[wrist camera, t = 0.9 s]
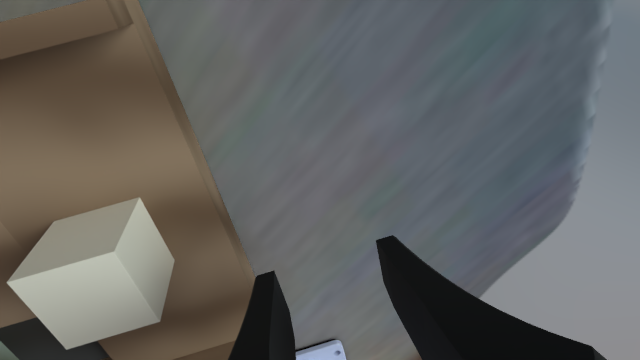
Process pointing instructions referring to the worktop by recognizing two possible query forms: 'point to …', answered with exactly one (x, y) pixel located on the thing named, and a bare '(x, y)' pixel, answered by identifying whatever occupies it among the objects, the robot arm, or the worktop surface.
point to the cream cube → (97, 274)
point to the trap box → (110, 177)
